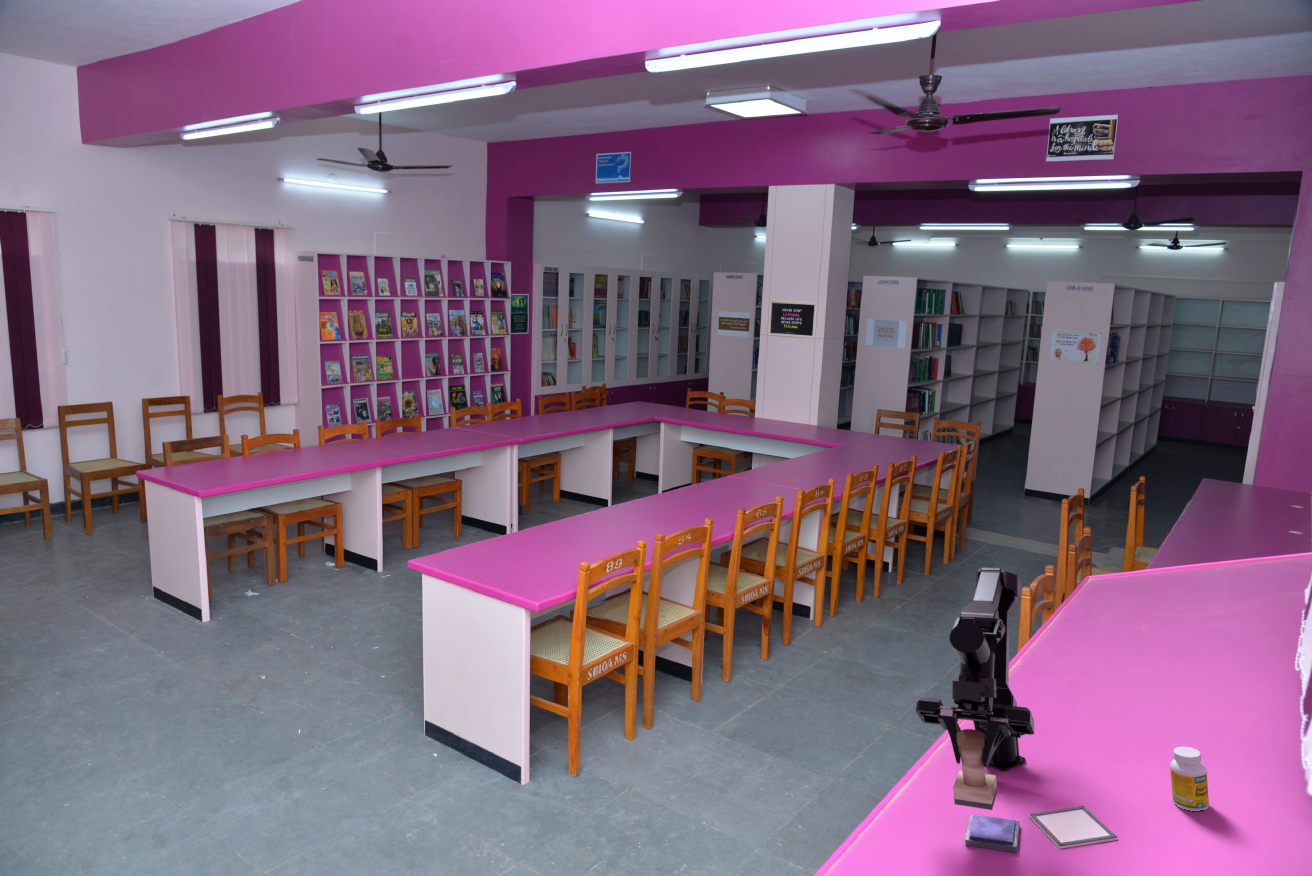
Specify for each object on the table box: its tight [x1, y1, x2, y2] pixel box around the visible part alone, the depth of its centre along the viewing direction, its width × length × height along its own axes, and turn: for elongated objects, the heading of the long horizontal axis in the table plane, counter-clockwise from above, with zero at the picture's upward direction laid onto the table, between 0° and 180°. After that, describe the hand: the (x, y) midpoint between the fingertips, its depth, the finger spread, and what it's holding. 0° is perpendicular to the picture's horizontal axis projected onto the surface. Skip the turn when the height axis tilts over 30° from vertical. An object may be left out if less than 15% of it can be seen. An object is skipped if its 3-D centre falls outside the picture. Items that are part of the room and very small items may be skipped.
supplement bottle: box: [1169, 746, 1210, 812], centre depth 144 cm, size 5×5×10 cm
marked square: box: [1028, 805, 1119, 850], centre depth 142 cm, size 10×10×1 cm
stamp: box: [952, 728, 998, 811], centre depth 142 cm, size 6×6×11 cm
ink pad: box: [964, 814, 1021, 854], centre depth 142 cm, size 8×8×1 cm
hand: (971, 765), depth 141 cm, fingers closed on stamp, 4 cm apart
